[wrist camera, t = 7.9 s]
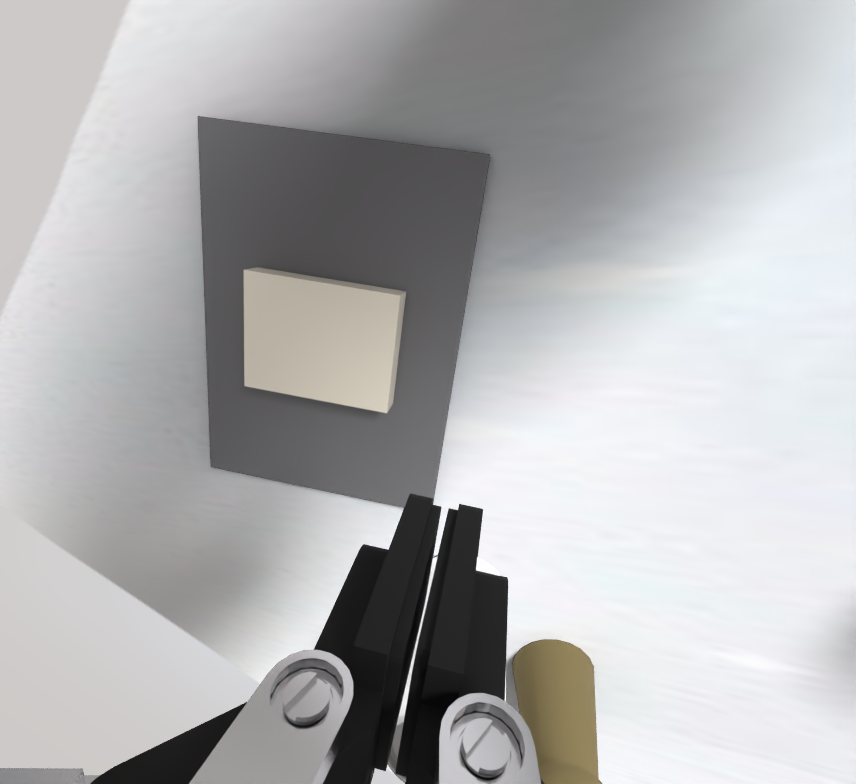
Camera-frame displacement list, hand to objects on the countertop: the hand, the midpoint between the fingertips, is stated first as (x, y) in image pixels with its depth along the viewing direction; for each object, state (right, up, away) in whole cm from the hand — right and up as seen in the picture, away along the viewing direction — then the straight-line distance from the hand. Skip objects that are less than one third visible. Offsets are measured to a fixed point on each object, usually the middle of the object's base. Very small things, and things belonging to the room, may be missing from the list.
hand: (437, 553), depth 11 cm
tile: (-2, +6, +17) cm, 18 cm away
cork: (+9, -17, +25) cm, 32 cm away
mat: (-6, +7, +19) cm, 21 cm away
